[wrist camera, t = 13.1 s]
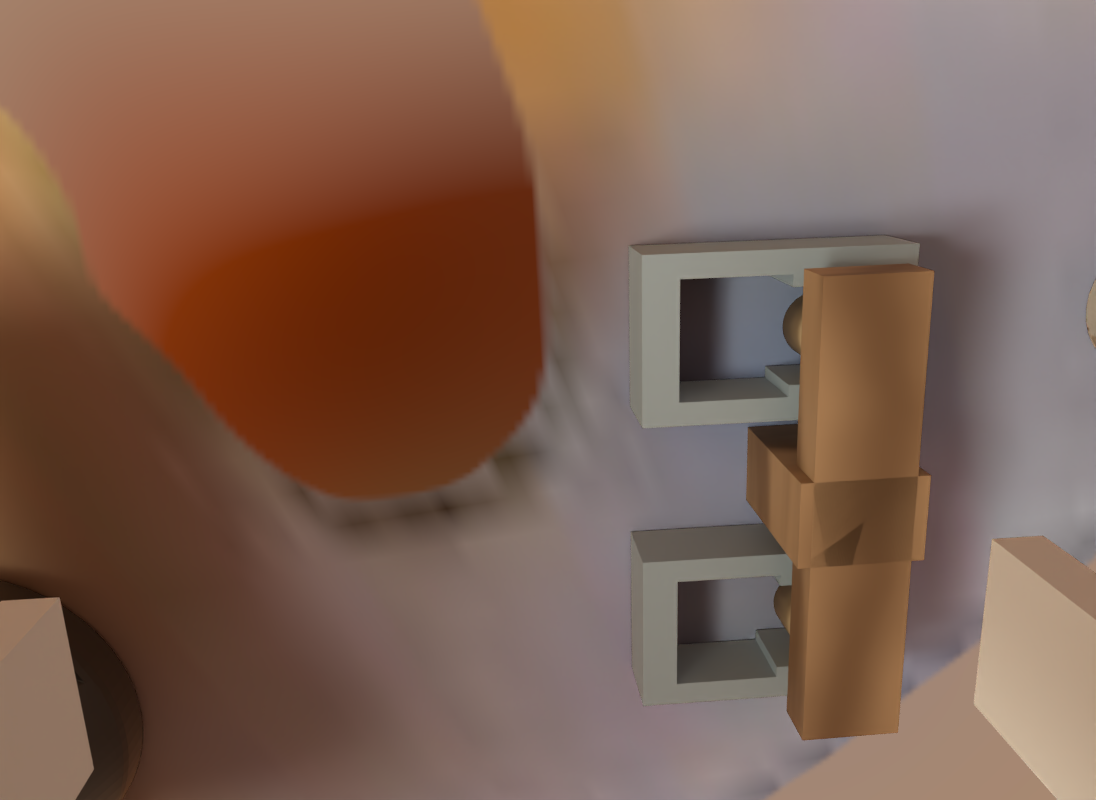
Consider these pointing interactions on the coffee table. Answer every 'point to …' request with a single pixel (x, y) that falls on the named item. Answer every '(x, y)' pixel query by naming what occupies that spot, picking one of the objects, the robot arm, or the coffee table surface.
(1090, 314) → the coffee cup
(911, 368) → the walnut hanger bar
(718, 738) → the coffee table surface
